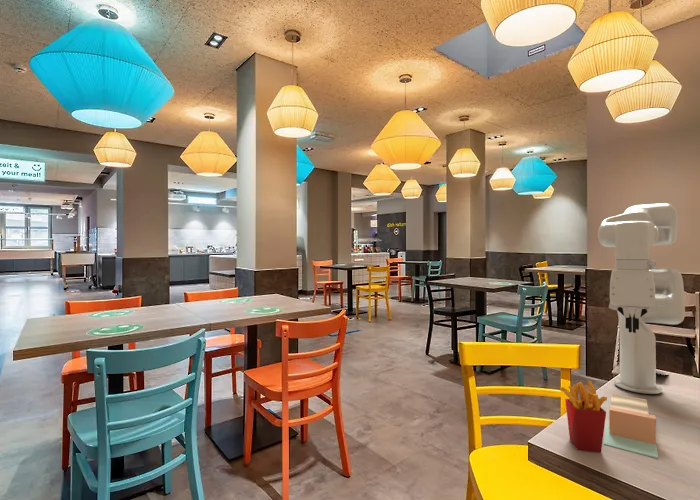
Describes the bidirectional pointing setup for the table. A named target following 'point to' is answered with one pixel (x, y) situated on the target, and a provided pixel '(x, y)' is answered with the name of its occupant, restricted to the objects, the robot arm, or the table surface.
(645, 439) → the card
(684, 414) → the table surface
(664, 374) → the smartphone
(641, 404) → the sheet
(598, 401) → the french fries
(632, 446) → the mat
